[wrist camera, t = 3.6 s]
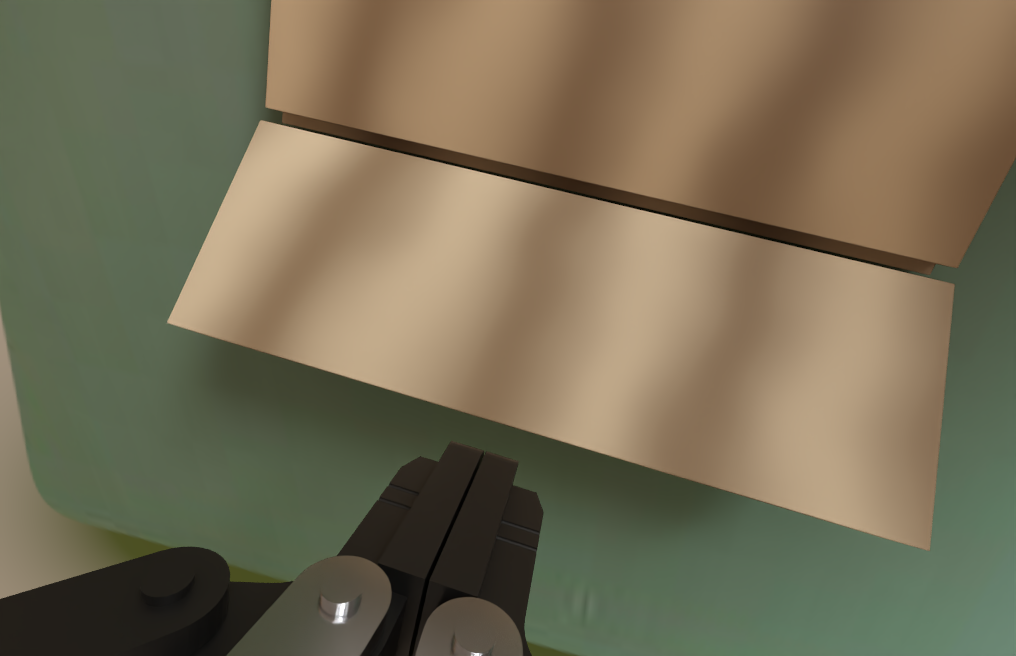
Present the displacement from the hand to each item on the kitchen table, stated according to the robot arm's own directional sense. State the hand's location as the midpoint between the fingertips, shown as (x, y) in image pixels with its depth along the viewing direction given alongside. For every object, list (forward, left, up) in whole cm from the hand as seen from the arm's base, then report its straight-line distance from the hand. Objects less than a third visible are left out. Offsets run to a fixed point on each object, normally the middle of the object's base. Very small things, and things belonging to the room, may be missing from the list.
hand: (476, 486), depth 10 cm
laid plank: (0, -11, -10) cm, 15 cm away
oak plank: (0, -2, -8) cm, 8 cm away
